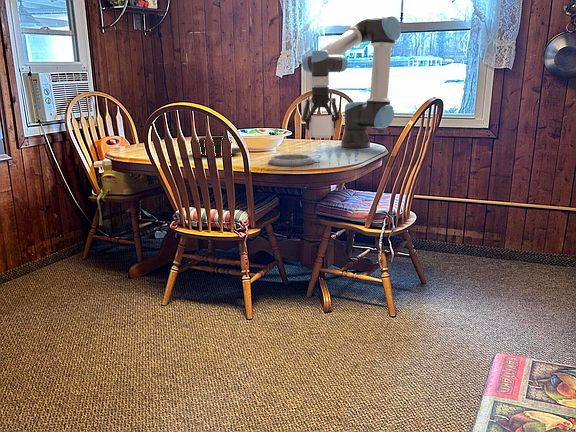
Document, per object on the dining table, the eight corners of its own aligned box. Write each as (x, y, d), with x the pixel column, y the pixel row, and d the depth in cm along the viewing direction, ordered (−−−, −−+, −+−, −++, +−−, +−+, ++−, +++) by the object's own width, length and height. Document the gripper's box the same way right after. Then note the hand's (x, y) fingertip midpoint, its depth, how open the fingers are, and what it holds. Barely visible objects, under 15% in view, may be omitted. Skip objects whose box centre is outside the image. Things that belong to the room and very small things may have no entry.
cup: (330, 138, 246) (330, 115, 243) (308, 138, 248) (307, 116, 245) (333, 135, 255) (333, 113, 252) (311, 135, 257) (311, 114, 254)
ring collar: (306, 158, 254) (306, 152, 253) (320, 165, 235) (320, 159, 235) (264, 160, 249) (264, 155, 248) (274, 167, 230) (274, 161, 230)
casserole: (243, 152, 276) (242, 135, 274) (238, 158, 258) (237, 140, 256) (194, 152, 277) (193, 136, 275) (185, 158, 259) (184, 140, 257)
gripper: (341, 85, 251) (341, 133, 257) (293, 87, 246) (294, 136, 252) (347, 85, 244) (347, 135, 250) (298, 87, 239) (299, 138, 245)
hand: (320, 136), depth 251 cm, fingers closed on cup, 10 cm apart
